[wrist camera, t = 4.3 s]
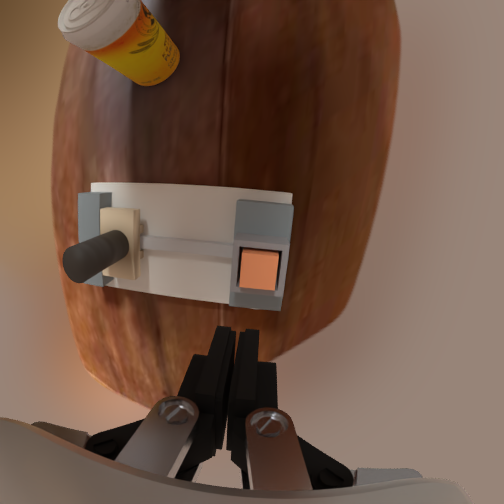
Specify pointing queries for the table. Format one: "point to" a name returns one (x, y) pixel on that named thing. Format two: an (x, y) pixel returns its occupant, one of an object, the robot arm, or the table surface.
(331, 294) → the table surface
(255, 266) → the button
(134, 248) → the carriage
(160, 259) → the rail base
